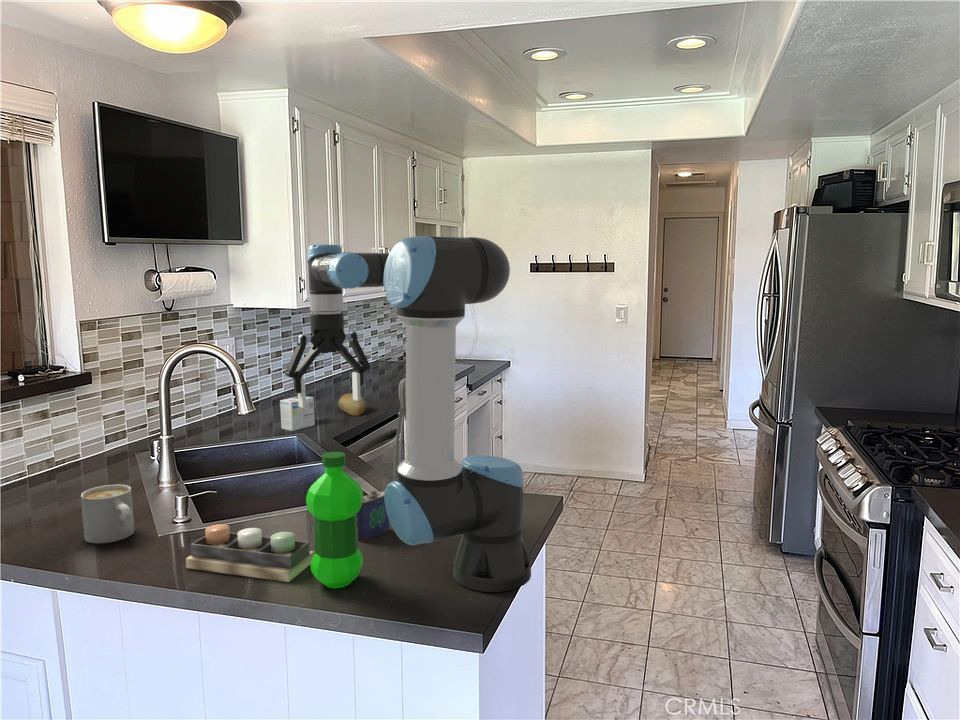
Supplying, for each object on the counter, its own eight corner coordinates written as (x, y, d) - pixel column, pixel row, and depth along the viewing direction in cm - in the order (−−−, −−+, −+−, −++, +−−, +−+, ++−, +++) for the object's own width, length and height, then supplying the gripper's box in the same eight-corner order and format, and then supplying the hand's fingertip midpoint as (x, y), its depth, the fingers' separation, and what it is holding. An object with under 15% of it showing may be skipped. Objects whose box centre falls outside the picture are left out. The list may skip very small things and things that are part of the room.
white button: (266, 540, 143) (266, 529, 143) (253, 549, 139) (252, 537, 138) (246, 538, 144) (246, 526, 144) (233, 547, 140) (232, 535, 139)
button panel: (314, 560, 144) (313, 539, 143) (288, 582, 134) (287, 559, 133) (217, 548, 150) (216, 528, 149) (186, 568, 140) (184, 546, 140)
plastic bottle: (326, 567, 140) (321, 445, 137) (374, 574, 137) (371, 450, 134) (299, 590, 131) (293, 459, 127) (350, 597, 128) (346, 464, 124)
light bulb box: (303, 423, 264) (302, 394, 262) (315, 425, 260) (314, 396, 258) (280, 428, 255) (279, 399, 254) (292, 431, 251) (291, 401, 250)
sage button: (299, 544, 141) (299, 532, 141) (287, 554, 136) (286, 541, 136) (279, 542, 142) (278, 530, 142) (266, 551, 138) (265, 539, 137)
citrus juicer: (399, 481, 194) (397, 374, 190) (435, 482, 194) (434, 374, 190) (393, 495, 183) (390, 382, 179) (431, 495, 183) (430, 382, 178)
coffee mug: (78, 534, 158) (74, 491, 156) (125, 522, 165) (122, 481, 163) (97, 552, 148) (93, 506, 147) (146, 538, 155) (143, 495, 154)
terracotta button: (234, 537, 145) (234, 525, 145) (220, 545, 141) (220, 533, 140) (215, 534, 146) (214, 523, 146) (201, 543, 142) (200, 531, 141)
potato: (355, 408, 290) (355, 389, 289) (371, 415, 277) (370, 395, 276) (333, 411, 284) (332, 391, 283) (348, 418, 272) (347, 397, 271)
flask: (384, 527, 161) (383, 482, 160) (393, 530, 159) (392, 485, 158) (354, 540, 154) (353, 493, 152) (364, 543, 152) (362, 496, 151)
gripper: (368, 309, 172) (370, 394, 175) (267, 314, 157) (272, 407, 160) (383, 310, 166) (385, 399, 169) (279, 316, 151) (283, 412, 154)
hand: (330, 403), depth 165 cm, fingers open, 13 cm apart
